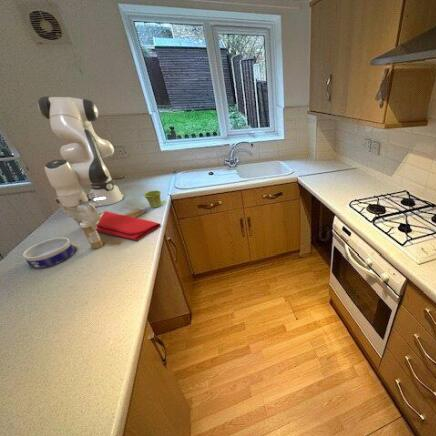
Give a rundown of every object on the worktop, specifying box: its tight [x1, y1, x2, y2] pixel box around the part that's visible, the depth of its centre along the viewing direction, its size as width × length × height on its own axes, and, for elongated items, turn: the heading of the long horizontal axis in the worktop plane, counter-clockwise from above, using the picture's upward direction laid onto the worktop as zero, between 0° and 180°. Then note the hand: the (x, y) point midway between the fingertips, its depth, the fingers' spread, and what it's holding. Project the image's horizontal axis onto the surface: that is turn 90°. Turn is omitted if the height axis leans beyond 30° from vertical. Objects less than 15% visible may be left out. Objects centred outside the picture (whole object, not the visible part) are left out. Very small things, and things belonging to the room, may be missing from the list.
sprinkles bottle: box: [79, 220, 104, 250], centre depth 111 cm, size 5×5×14 cm
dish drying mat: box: [96, 210, 161, 241], centre depth 129 cm, size 16×41×4 cm, turn 69°
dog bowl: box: [22, 237, 76, 270], centre depth 106 cm, size 15×15×6 cm
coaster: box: [123, 208, 147, 218], centre depth 143 cm, size 9×9×1 cm
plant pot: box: [143, 190, 163, 209], centre depth 150 cm, size 9×9×9 cm
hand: (88, 226), depth 109 cm, fingers open, 8 cm apart
